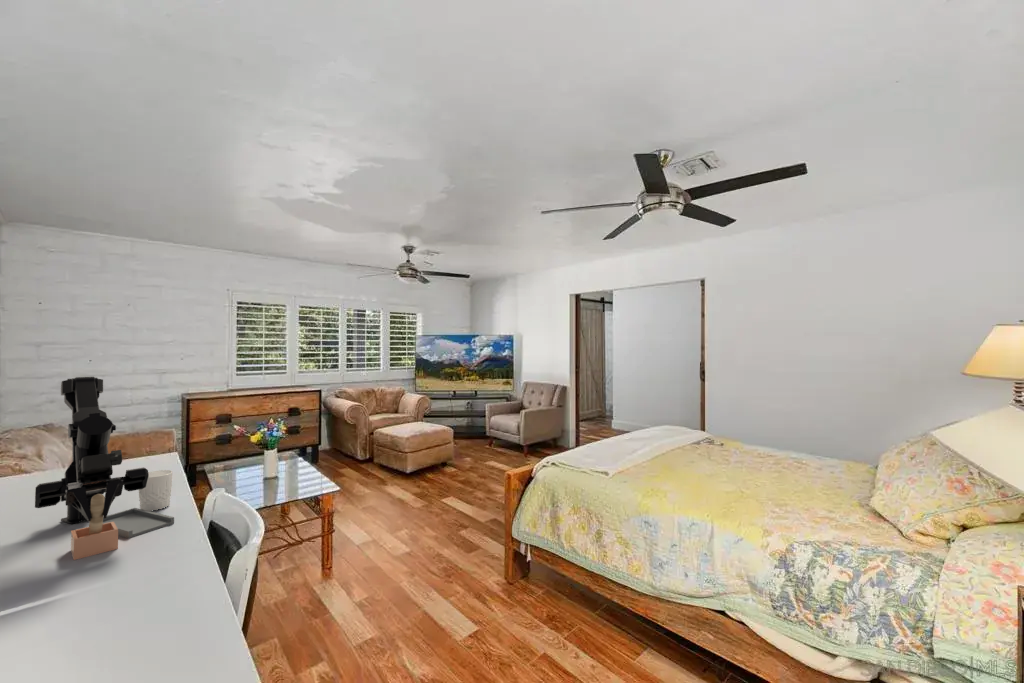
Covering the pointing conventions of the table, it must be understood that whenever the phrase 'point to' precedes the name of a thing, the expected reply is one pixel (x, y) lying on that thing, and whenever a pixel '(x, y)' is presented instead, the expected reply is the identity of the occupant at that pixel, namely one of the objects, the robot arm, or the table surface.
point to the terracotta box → (94, 541)
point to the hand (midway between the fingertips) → (97, 518)
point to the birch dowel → (96, 514)
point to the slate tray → (137, 521)
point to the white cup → (156, 491)
